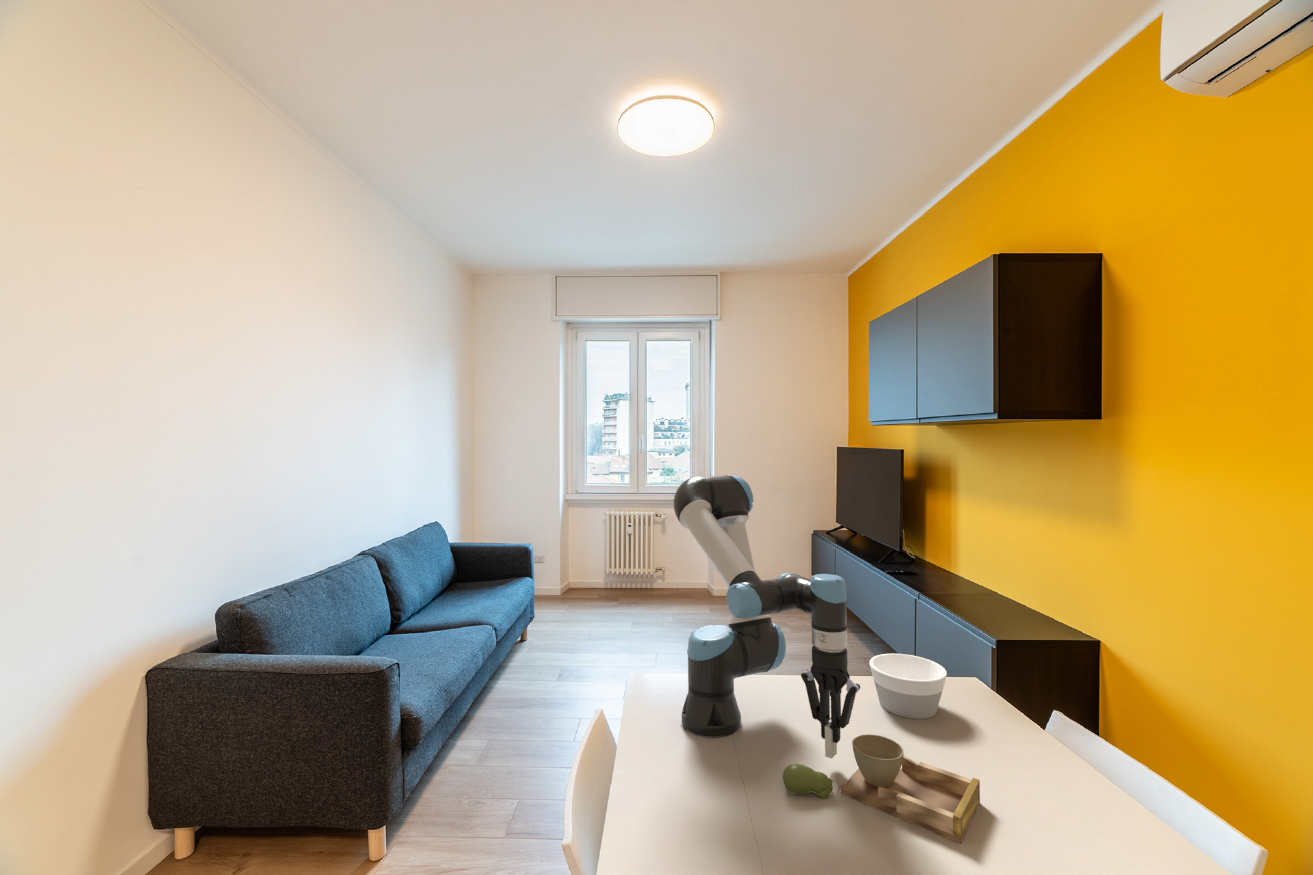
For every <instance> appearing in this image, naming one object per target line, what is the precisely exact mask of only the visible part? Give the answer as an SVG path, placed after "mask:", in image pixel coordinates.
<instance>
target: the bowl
mask: <svg viewBox="0 0 1313 875" xmlns="http://www.w3.org/2000/svg"><path fill="white" fill-rule="evenodd" d="M868 663H869V667H870V671H871V675H872V678H873V679H872V680H873V682H874V686H875V690H876V694H877V697H878V701H879V704H880V706H881V707H882V708H883V709H884V710H886V711H887V712H889V713H891V714H892V715H893V714H894V715H896V716H900V717H903V718H909V719H915V720H916V719H918V720H919V719H921V720H922V719H928V718H932V717H934V716H936V714H937V712H938V709H939V705H940V700H941V697H942V695H943V694H942V693H943V690H944V687H945V683H946V679H947V676H948V673H947V669H946V668H945V667H943V666H942V665H941V664H939V663H937V662H936V661H933V660H931V659H928V658H925V657H922V656H917V655H913V654H905V653H904V654H903V653H884V654H883V653H882V654H877V655H875V656H873V657H871V658H870V660H869V661H868Z"/></svg>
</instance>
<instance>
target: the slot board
mask: <svg viewBox="0 0 1313 875" xmlns="http://www.w3.org/2000/svg"><path fill="white" fill-rule="evenodd" d="M980 782H981V781H980V779H978V778H975V777H972V778H967V777H965V776H962V775H960V774H956V773H953V772H951V771H948V770H945V769H942V768H939V767H936V766H933V765H930V764H927V763H926V762H923V761H921V762H919V763H918V762H916V761H914V760H912V759H911V758H909V757H907V756H906V755H904V756H903V761H902V765H901V768H900V770H899V773H898V775H897V777H896V778H895V780H894V781H893V783H892V784H891V785H890V786H889V787H887V788H882V787H875V786H872V785H870V784H869V783H867V782H866V780H865V779H864V777H863V775H862V774H861V772H860V770H859V767H858V768H857V769H856V771H855V772H854V773H853V774H852V775H851V776H850V777H849V778H848V780H846V782H845V783H843V785H842V786H841V787H840V794H841V795H844V796H846V797H849V798H852V799H854V800H856V801H859V802H860V803H863V804H865V805H868V806H870V807H872V808H874V809H877V810H880V811H881V812H885V813H886V814H889V815H891V816H894V817H896V818H898V819H901V820H902V821H906V822H908V823H911V824H913V825H915V826H917V827H920V828H923V829H925V830H927V831H929V832H933V833H935V834H937V835H939V836H941V837H944V838H946V839H948V840H951V841H953V842H956V843H957V844H960V845H961V844H962V842H963V840H964V838H965V836H966V834H967V832H968V829H969V827H970V825H971V823H972V821H973V818H974V816H975V814H976V812H977V810H978V808H979V806H980V803H981V795H980V794H981V789H980V788H981V786H980Z"/></svg>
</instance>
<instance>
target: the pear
mask: <svg viewBox="0 0 1313 875" xmlns="http://www.w3.org/2000/svg"><path fill="white" fill-rule="evenodd" d="M782 783H783V785H784V787H785V789H786V790H787V792H789V793H792V795H793V794H794V795H802V794H808V793H814V794H816V795H817V796H818V797H819V798H822V799H829V798H830V797H831V794H832V792H833V790H834V786H833V783H834V780H833V779H832V778H831V777H828V775H827V774H826V773H824V772H822V771H816V770H814V769H813V768H812V767H809V766H808V765H807V766H806V765H804V764H800V763H790V764H787V766H785V768H784V770H783V772H782Z"/></svg>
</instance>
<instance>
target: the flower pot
mask: <svg viewBox="0 0 1313 875" xmlns="http://www.w3.org/2000/svg"><path fill="white" fill-rule="evenodd" d="M851 744H852V751H853V756H854V759H855V762H856V764H857V767H858V768H859V770H860V772H861V774H862V775H863V777H864V779H865V780H866V782H867V783H869V784H870V785H872V786H875V787H882V788H887V787H889V786H890V785H891V784H892V783H893V781H894V780H895V778H896V777H897V775H898V773H899V770H900V769H902V761H903V756H905V754H904V753H905V752H904V749H903V747H902V746H901V744H900V743H899V742H897V741H896V740H893V739H891V738H889V737H886V736H884V735H883V736H882V735H878V734H861V735H857V736H855V737H854V738H853V739H852V740H851Z"/></svg>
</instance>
